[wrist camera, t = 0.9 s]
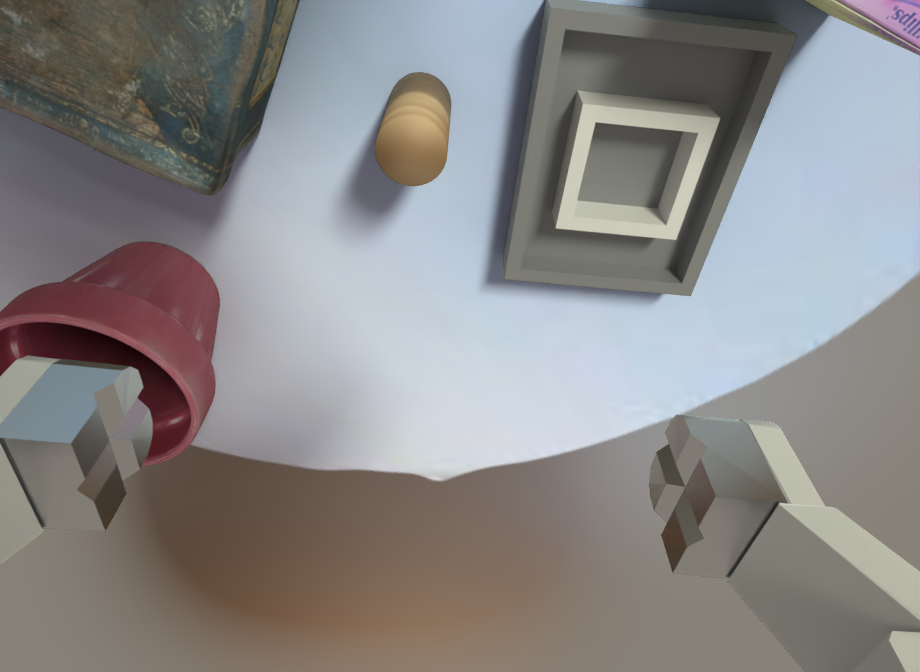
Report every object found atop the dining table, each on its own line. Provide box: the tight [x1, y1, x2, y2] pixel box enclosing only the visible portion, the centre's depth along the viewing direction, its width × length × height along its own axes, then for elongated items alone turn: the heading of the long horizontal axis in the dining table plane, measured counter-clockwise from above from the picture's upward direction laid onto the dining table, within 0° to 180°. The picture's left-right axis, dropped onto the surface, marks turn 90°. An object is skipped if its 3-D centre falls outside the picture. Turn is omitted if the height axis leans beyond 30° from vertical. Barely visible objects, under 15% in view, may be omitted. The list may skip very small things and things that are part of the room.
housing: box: [503, 0, 797, 296], centre depth 41 cm, size 18×14×4 cm
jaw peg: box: [375, 72, 451, 186], centre depth 37 cm, size 4×4×8 cm
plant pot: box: [0, 242, 220, 466], centre depth 45 cm, size 14×14×13 cm
